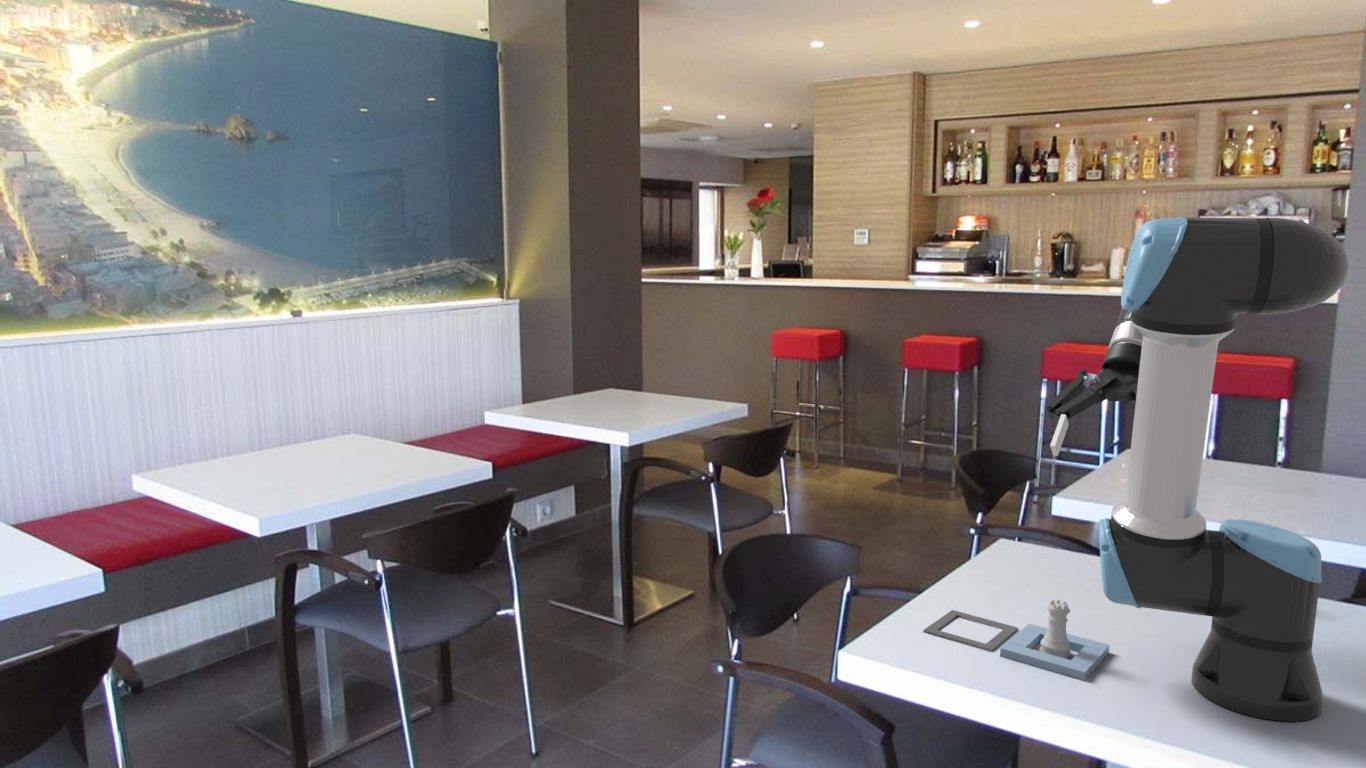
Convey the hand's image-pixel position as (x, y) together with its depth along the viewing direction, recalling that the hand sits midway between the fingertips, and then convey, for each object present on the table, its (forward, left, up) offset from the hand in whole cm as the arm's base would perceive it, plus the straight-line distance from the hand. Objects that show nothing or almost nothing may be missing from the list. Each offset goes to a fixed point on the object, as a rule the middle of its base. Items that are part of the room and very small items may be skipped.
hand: (1097, 457), depth 145 cm
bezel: (+13, +15, -28) cm, 34 cm away
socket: (0, +15, -28) cm, 31 cm away
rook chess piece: (0, +15, -28) cm, 31 cm away
